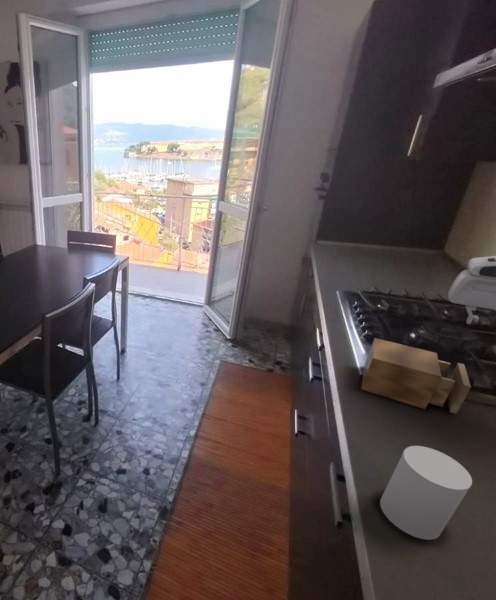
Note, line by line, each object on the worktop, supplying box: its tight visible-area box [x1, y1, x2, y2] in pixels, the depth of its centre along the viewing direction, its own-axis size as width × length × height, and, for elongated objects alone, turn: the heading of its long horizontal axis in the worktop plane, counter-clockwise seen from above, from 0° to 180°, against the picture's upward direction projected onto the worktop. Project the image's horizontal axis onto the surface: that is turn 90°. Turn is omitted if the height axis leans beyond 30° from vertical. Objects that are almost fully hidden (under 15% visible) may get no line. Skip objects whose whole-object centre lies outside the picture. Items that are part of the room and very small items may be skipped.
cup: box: [379, 445, 473, 541], centre depth 59 cm, size 8×8×12 cm
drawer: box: [428, 359, 472, 415], centre depth 86 cm, size 13×10×8 cm
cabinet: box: [360, 337, 441, 410], centre depth 90 cm, size 13×12×10 cm
